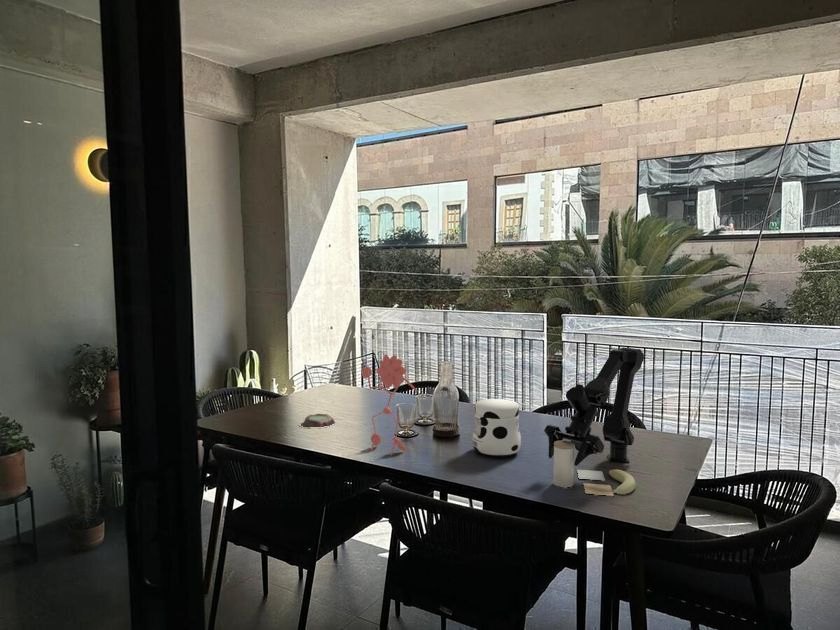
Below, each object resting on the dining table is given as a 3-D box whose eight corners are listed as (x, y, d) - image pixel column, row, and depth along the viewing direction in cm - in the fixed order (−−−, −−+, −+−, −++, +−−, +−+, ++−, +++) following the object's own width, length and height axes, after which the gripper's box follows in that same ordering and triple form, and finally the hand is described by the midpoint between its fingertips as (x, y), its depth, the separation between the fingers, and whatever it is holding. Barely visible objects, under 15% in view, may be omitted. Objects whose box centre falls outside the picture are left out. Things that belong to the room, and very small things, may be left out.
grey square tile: (576, 470, 193) (576, 469, 193) (602, 472, 192) (602, 471, 192) (578, 479, 186) (578, 478, 186) (605, 481, 184) (605, 480, 184)
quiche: (284, 424, 253) (284, 415, 252) (326, 416, 265) (326, 408, 265) (306, 435, 236) (306, 426, 236) (350, 427, 249) (350, 417, 248)
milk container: (528, 450, 214) (529, 402, 213) (507, 464, 200) (508, 412, 198) (486, 442, 224) (486, 396, 222) (463, 454, 210) (463, 405, 208)
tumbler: (552, 480, 185) (553, 439, 184) (572, 481, 184) (573, 441, 183) (553, 487, 179) (554, 445, 178) (574, 488, 178) (575, 447, 177)
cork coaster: (583, 484, 181) (583, 483, 181) (610, 486, 180) (610, 485, 180) (585, 494, 174) (585, 493, 174) (613, 496, 172) (613, 495, 172)
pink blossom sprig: (409, 460, 203) (409, 360, 201) (352, 447, 218) (352, 354, 215) (433, 450, 216) (434, 355, 214) (378, 438, 231) (378, 349, 228)
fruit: (632, 478, 187) (632, 468, 187) (638, 496, 173) (638, 485, 172) (608, 477, 189) (608, 466, 189) (612, 494, 174) (612, 483, 174)
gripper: (618, 440, 184) (598, 483, 178) (567, 428, 198) (547, 467, 191) (606, 419, 178) (585, 463, 172) (554, 408, 192) (533, 449, 185)
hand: (562, 461), depth 180 cm, fingers open, 9 cm apart
